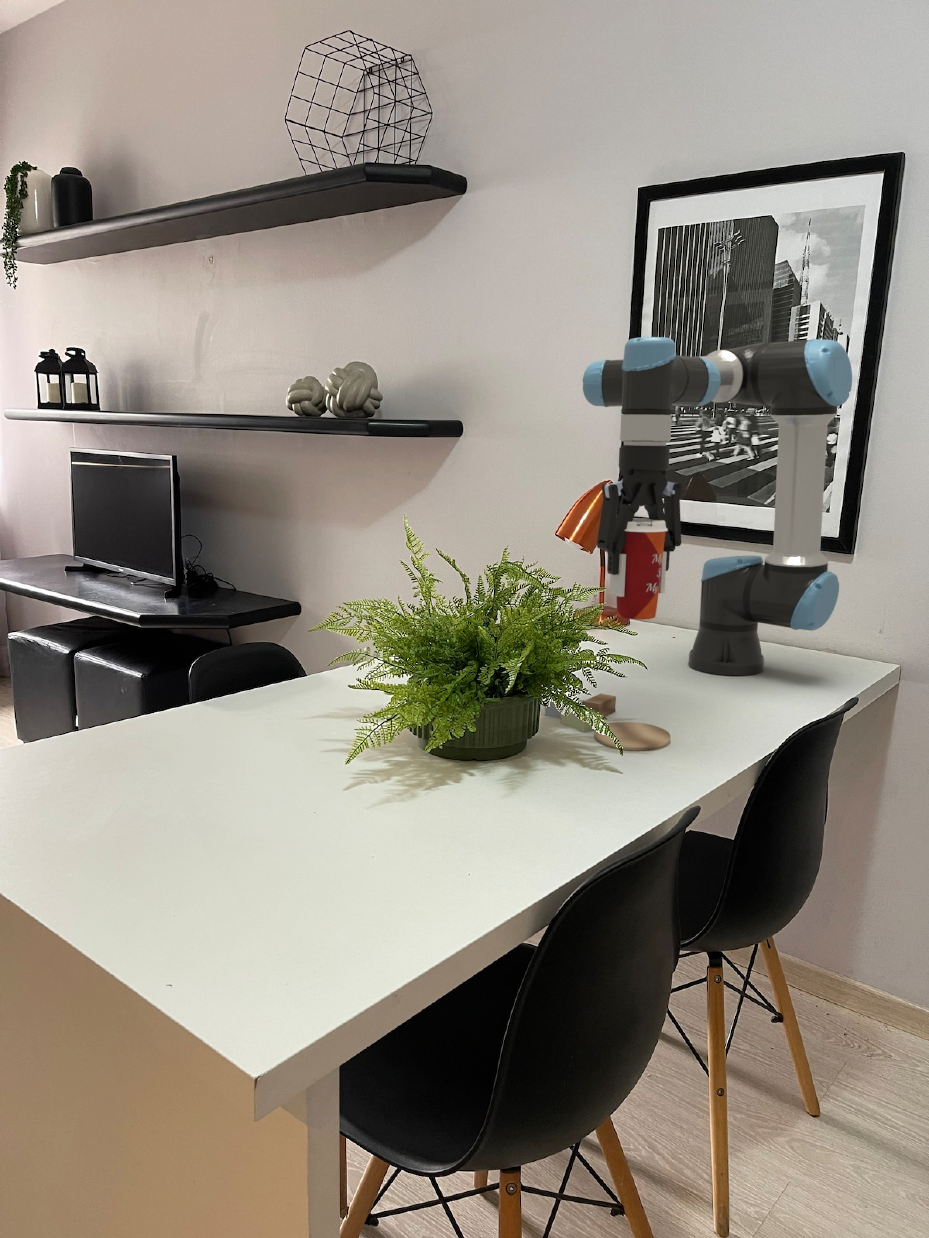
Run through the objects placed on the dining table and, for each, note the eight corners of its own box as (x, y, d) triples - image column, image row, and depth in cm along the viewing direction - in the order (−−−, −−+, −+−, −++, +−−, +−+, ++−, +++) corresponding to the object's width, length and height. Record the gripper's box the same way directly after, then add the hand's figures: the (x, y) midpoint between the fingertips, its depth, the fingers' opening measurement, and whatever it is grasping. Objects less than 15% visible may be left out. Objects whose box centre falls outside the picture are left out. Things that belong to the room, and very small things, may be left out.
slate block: (583, 716, 163) (584, 700, 163) (577, 721, 161) (578, 704, 160) (550, 712, 166) (551, 695, 165) (544, 716, 163) (545, 700, 163)
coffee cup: (667, 621, 144) (673, 523, 141) (613, 620, 144) (617, 522, 141) (657, 611, 152) (663, 518, 149) (606, 610, 152) (610, 517, 149)
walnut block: (600, 709, 167) (600, 693, 167) (615, 712, 166) (615, 696, 165) (583, 717, 163) (583, 701, 162) (598, 721, 161) (599, 704, 160)
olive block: (560, 724, 159) (561, 707, 159) (574, 721, 161) (575, 704, 160) (583, 733, 154) (584, 716, 154) (597, 730, 156) (598, 713, 155)
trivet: (638, 722, 160) (638, 718, 159) (686, 743, 149) (686, 738, 149) (579, 732, 154) (579, 728, 154) (624, 755, 144) (625, 750, 143)
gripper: (680, 444, 151) (672, 585, 155) (575, 443, 141) (570, 594, 146) (712, 444, 144) (703, 593, 149) (605, 444, 135) (598, 602, 139)
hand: (637, 593), depth 147 cm, fingers closed on coffee cup, 7 cm apart
